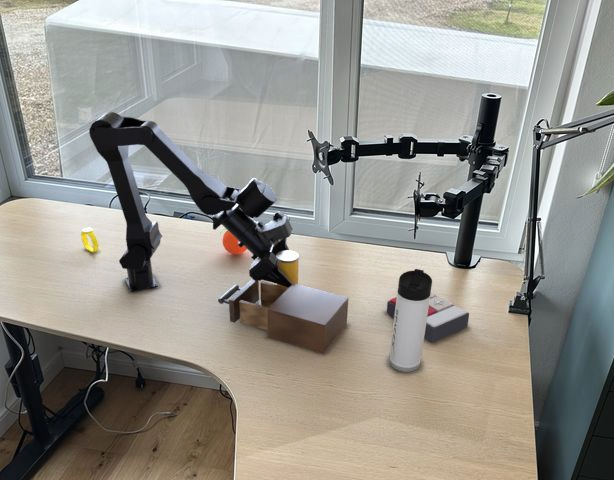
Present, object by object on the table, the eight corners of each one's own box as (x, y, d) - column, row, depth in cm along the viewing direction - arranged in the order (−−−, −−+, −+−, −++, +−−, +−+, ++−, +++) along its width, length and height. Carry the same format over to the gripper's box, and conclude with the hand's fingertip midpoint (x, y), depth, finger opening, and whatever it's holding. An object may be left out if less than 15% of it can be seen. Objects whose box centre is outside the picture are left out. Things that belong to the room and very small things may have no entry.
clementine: (215, 256, 170) (213, 231, 166) (225, 244, 175) (224, 220, 171) (243, 261, 168) (243, 235, 164) (253, 249, 174) (252, 224, 169)
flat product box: (422, 284, 153) (470, 310, 143) (420, 301, 155) (468, 327, 145) (386, 298, 147) (434, 326, 137) (385, 315, 150) (432, 343, 140)
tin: (271, 294, 155) (271, 254, 149) (288, 287, 158) (288, 248, 152) (286, 303, 152) (286, 263, 146) (302, 295, 155) (303, 256, 149)
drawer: (213, 317, 145) (212, 295, 142) (239, 294, 153) (238, 273, 150) (279, 336, 139) (279, 314, 136) (302, 311, 148) (302, 290, 144)
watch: (102, 252, 170) (98, 231, 167) (93, 256, 169) (89, 235, 165) (90, 245, 174) (86, 224, 170) (80, 248, 172) (76, 227, 168)
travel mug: (422, 357, 136) (436, 271, 124) (416, 375, 131) (429, 288, 119) (393, 350, 137) (403, 265, 126) (385, 368, 132) (395, 281, 121)
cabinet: (267, 337, 140) (267, 309, 136) (293, 310, 149) (293, 283, 145) (323, 354, 136) (325, 325, 132) (346, 325, 145) (348, 297, 141)
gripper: (262, 225, 135) (314, 276, 140) (276, 190, 150) (323, 237, 155) (227, 256, 140) (278, 304, 146) (243, 220, 155) (289, 264, 161)
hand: (293, 276), depth 152 cm, fingers open, 9 cm apart
